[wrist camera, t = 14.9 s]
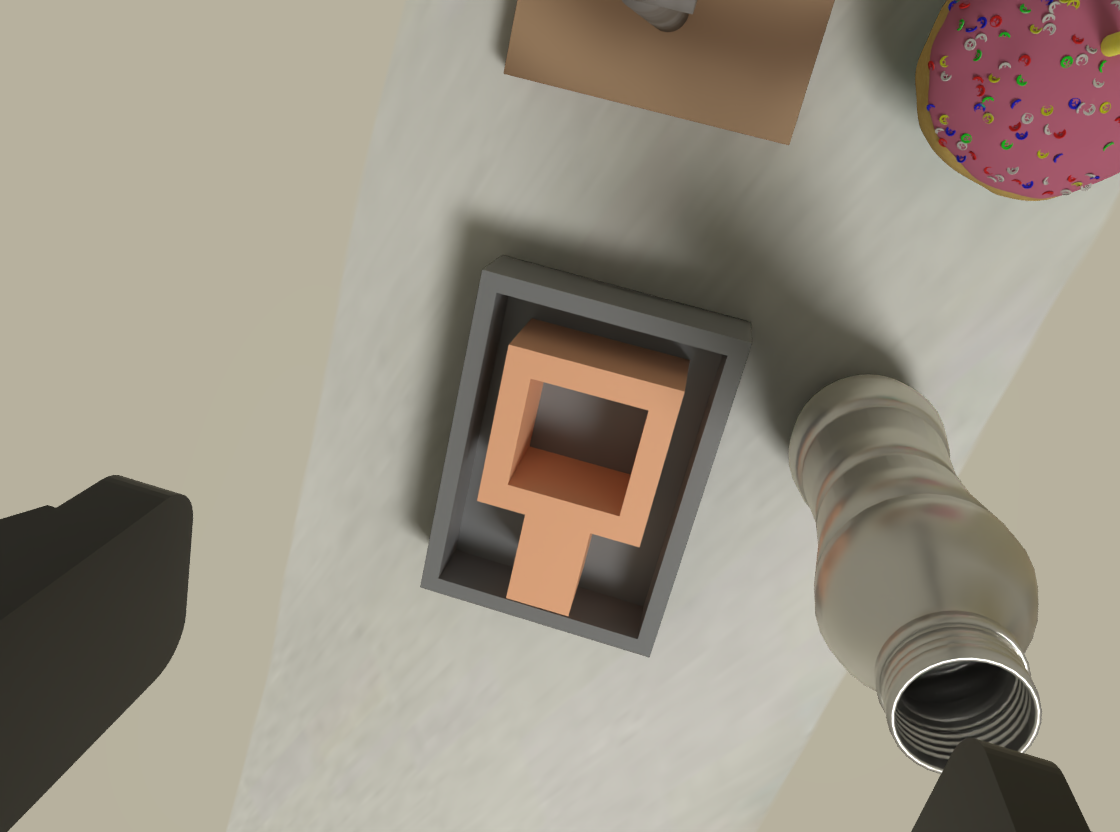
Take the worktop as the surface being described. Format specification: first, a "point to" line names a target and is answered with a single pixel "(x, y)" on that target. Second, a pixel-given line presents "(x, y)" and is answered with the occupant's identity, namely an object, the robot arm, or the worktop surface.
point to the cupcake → (1024, 93)
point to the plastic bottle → (915, 572)
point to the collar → (565, 483)
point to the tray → (583, 448)
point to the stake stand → (678, 56)
